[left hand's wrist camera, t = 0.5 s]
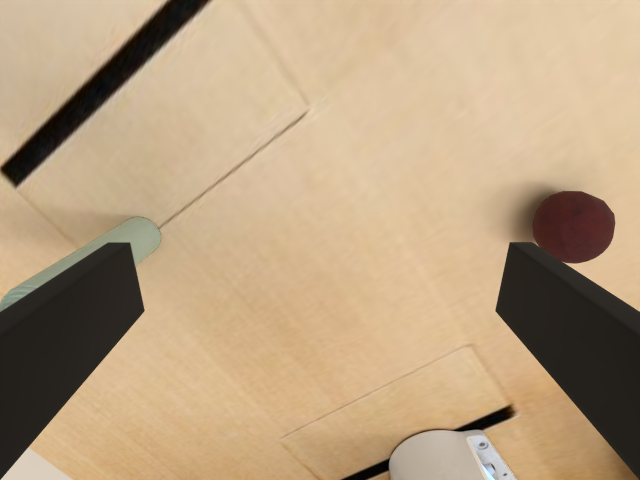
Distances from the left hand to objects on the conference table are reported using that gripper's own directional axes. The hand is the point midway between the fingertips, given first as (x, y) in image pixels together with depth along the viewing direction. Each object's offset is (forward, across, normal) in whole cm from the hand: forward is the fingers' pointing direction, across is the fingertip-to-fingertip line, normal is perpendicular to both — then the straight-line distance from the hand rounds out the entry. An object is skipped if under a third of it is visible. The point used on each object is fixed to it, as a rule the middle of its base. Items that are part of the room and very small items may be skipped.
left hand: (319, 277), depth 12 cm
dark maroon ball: (+28, +27, -6) cm, 39 cm away
